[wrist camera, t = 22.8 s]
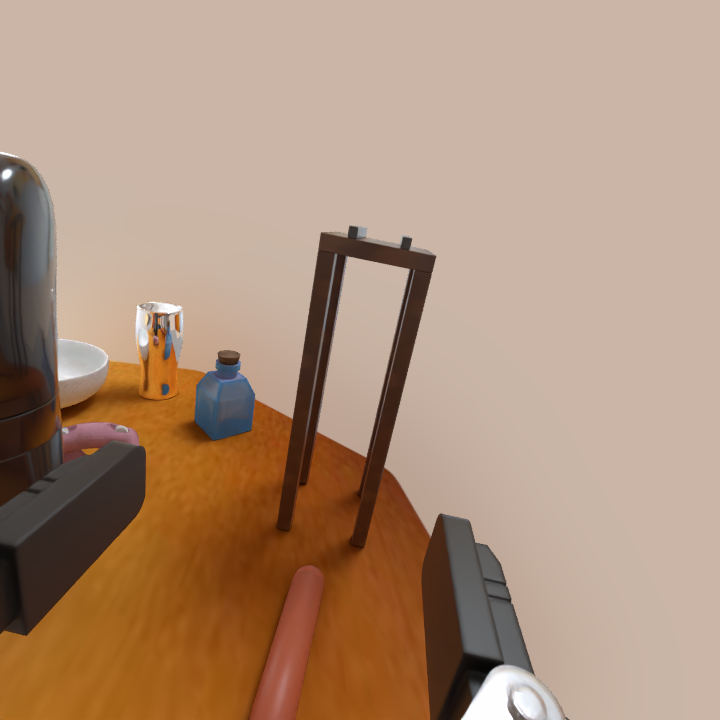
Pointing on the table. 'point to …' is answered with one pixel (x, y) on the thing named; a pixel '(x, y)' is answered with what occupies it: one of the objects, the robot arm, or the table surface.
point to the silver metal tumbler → (159, 348)
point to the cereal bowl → (80, 371)
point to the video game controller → (94, 437)
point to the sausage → (290, 649)
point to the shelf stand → (318, 354)
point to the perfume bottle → (224, 399)
